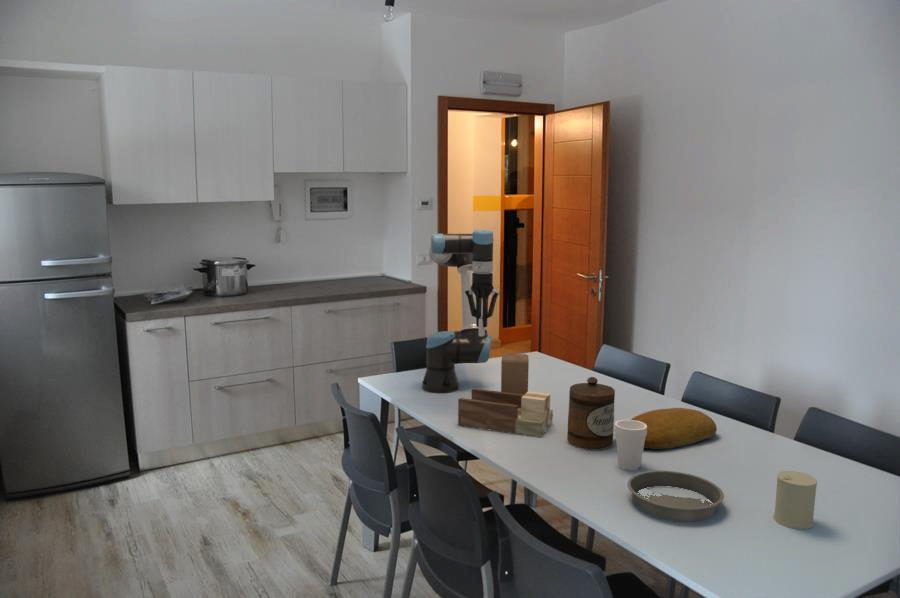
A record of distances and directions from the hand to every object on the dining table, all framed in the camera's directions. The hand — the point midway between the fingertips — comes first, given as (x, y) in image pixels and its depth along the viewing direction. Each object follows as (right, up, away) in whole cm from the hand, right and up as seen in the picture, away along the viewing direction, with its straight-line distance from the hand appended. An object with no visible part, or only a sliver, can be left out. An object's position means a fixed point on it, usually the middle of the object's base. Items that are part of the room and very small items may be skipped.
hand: (481, 335), depth 266 cm
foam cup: (+42, -37, -49) cm, 75 cm away
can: (+76, -43, -84) cm, 121 cm away
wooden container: (+35, -34, -29) cm, 56 cm away
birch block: (+18, -27, -18) cm, 37 cm away
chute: (+8, -31, -13) cm, 34 cm away
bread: (+61, -34, -25) cm, 74 cm away
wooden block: (+13, -28, +7) cm, 31 cm away
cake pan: (+48, -41, -74) cm, 97 cm away
